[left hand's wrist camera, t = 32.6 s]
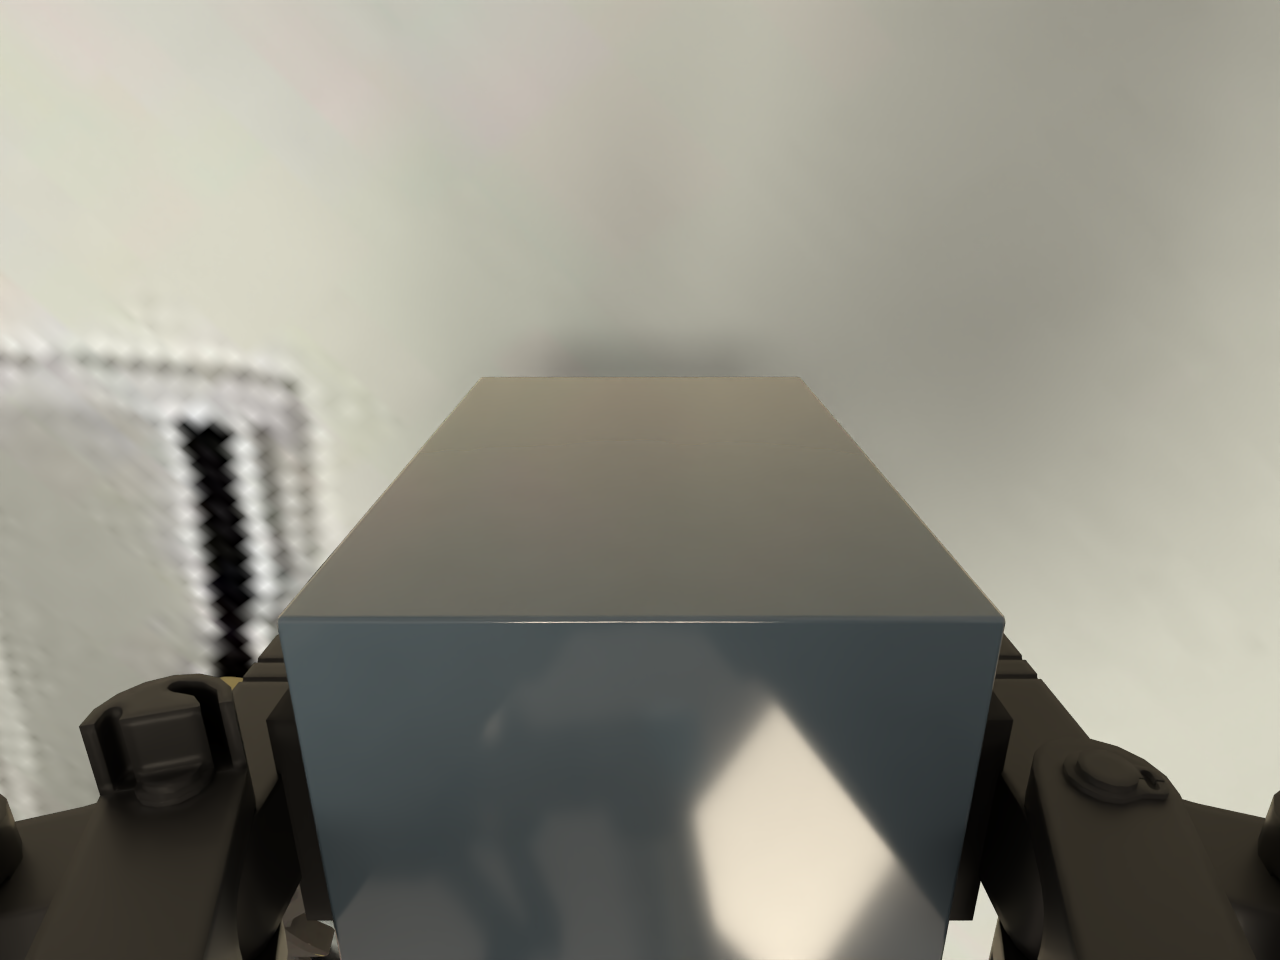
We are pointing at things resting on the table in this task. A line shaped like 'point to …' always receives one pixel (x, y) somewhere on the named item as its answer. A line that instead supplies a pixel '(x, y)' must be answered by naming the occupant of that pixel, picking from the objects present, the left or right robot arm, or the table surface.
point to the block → (641, 687)
